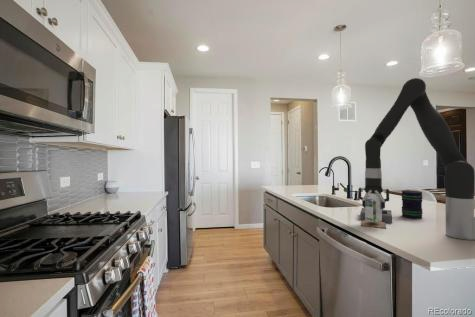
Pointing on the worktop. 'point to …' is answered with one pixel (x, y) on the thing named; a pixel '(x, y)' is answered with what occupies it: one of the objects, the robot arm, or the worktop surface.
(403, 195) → the storage jar
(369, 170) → the robot arm
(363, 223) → the walnut pad
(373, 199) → the syrup box
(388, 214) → the square-hole rail
